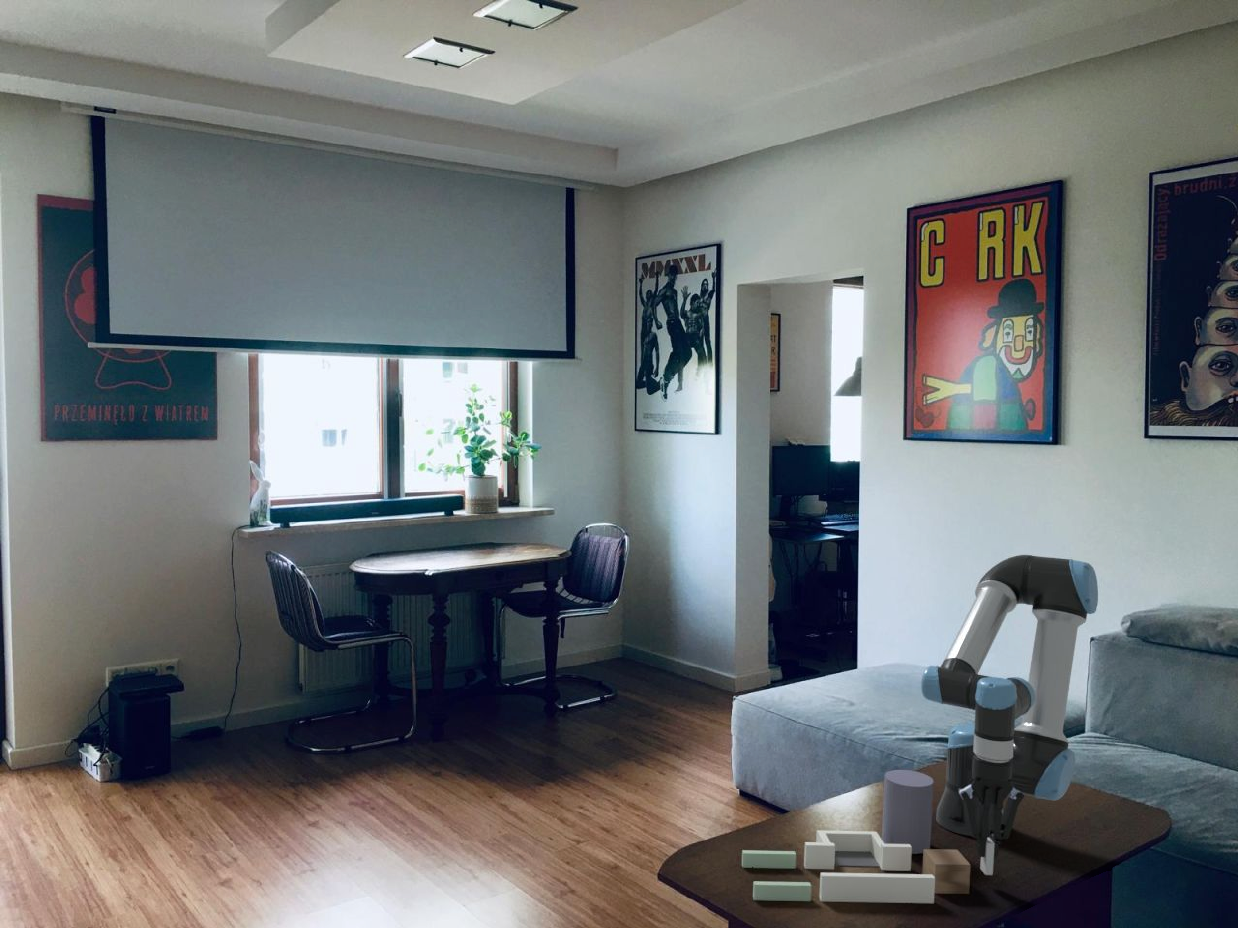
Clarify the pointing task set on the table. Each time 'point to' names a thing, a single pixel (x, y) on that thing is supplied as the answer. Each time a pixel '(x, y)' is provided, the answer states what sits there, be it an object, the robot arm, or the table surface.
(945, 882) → the block
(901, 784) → the lavender cylinder
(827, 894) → the white walled enclosure
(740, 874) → the table surface
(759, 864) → the rails
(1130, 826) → the table surface
